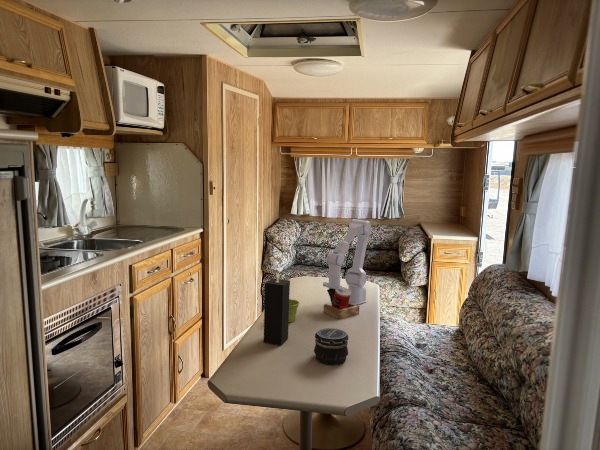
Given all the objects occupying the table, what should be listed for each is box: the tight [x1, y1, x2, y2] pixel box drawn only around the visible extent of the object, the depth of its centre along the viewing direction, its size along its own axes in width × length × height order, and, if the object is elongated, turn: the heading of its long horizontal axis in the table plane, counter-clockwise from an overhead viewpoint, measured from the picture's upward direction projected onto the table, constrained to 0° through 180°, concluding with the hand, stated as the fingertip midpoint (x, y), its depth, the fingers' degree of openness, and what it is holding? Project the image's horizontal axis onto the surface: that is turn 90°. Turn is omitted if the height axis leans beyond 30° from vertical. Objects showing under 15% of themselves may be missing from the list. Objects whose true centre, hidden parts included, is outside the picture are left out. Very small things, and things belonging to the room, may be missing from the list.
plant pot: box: [289, 298, 300, 323], centre depth 201 cm, size 9×9×9 cm
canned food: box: [331, 286, 351, 310], centre depth 213 cm, size 8×8×11 cm
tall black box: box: [263, 273, 291, 346], centre depth 175 cm, size 8×8×28 cm
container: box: [313, 327, 349, 366], centre depth 162 cm, size 13×13×10 cm
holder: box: [323, 303, 360, 320], centre depth 213 cm, size 13×12×4 cm
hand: (333, 303), depth 218 cm, fingers closed
